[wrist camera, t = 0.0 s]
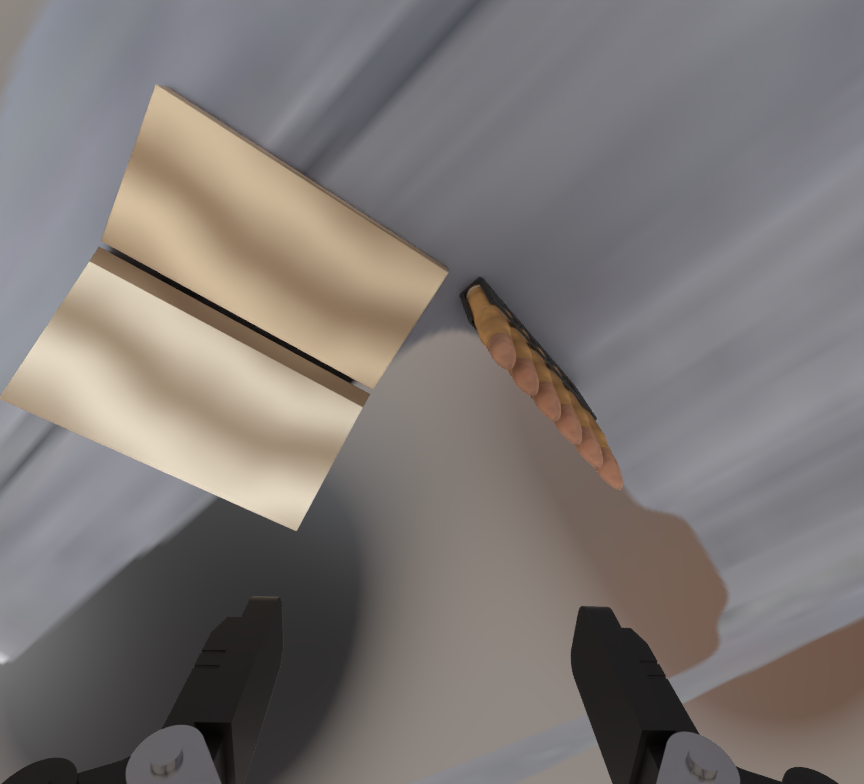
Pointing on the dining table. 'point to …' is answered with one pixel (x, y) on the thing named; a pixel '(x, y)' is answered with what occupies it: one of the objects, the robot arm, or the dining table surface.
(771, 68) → the dining table surface
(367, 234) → the oak board
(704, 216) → the dining table surface
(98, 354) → the birch plank
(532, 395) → the ammunition clip
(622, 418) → the dining table surface
